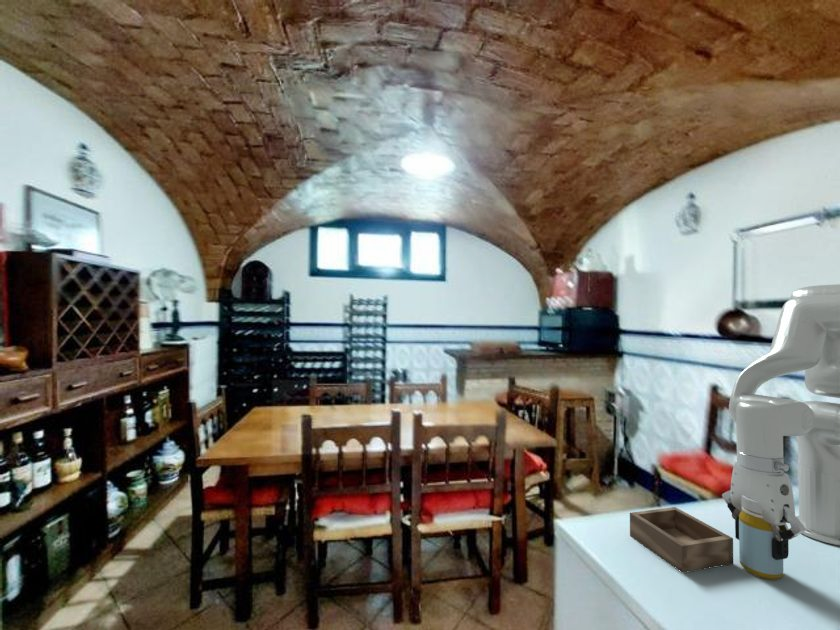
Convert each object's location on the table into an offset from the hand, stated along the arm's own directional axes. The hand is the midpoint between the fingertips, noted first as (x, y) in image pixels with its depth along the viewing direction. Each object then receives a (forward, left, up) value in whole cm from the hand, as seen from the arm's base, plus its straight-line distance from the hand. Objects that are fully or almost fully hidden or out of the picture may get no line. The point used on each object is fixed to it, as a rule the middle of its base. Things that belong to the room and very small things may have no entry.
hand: (760, 547), depth 86 cm
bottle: (0, 0, -5) cm, 5 cm away
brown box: (+10, -10, -5) cm, 15 cm away
